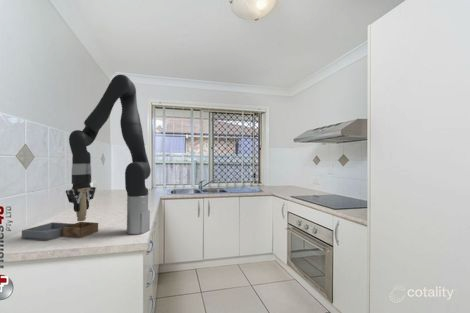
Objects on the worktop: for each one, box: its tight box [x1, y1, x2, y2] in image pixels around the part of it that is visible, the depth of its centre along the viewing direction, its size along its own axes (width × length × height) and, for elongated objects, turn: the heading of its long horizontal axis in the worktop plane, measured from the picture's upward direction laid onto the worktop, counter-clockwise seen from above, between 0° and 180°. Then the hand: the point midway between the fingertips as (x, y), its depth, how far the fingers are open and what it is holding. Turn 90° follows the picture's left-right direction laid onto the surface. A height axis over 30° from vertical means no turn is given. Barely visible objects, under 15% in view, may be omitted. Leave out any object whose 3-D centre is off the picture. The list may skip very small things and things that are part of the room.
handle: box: [74, 188, 90, 222], centre depth 100 cm, size 5×6×15 cm
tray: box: [21, 221, 72, 242], centre depth 99 cm, size 14×13×4 cm
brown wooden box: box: [61, 221, 99, 239], centre depth 100 cm, size 10×9×4 cm
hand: (81, 210), depth 100 cm, fingers closed on handle, 4 cm apart
